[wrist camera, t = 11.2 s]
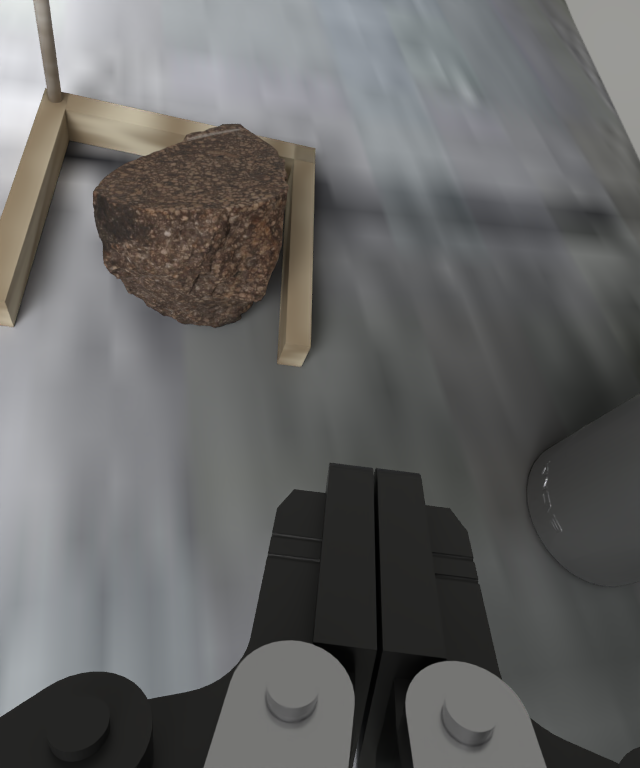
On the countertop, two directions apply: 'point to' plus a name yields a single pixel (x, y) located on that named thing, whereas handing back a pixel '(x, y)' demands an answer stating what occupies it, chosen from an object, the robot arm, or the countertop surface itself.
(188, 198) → the rock
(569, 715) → the countertop surface
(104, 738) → the robot arm
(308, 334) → the corral
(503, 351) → the countertop surface
